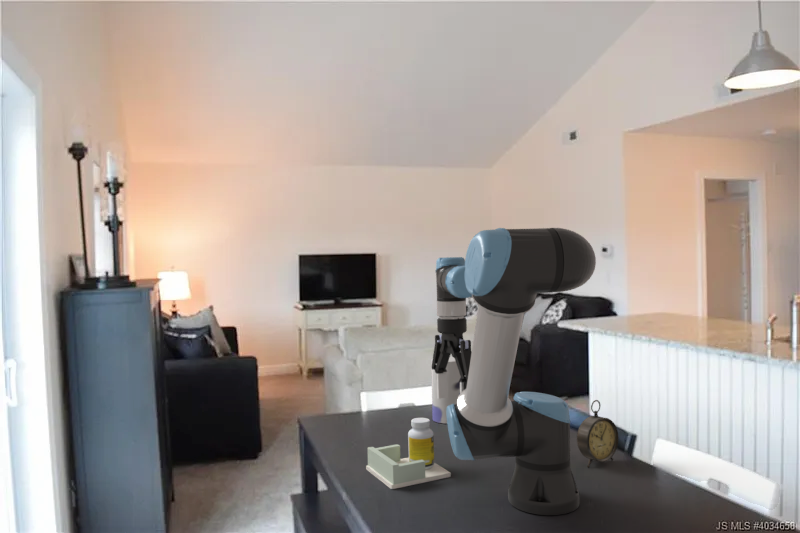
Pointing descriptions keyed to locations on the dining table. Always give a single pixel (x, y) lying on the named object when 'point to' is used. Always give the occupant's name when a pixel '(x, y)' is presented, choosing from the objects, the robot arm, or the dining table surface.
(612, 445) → the alarm clock
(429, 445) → the pill bottle
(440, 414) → the container
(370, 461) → the dock
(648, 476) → the dining table surface
